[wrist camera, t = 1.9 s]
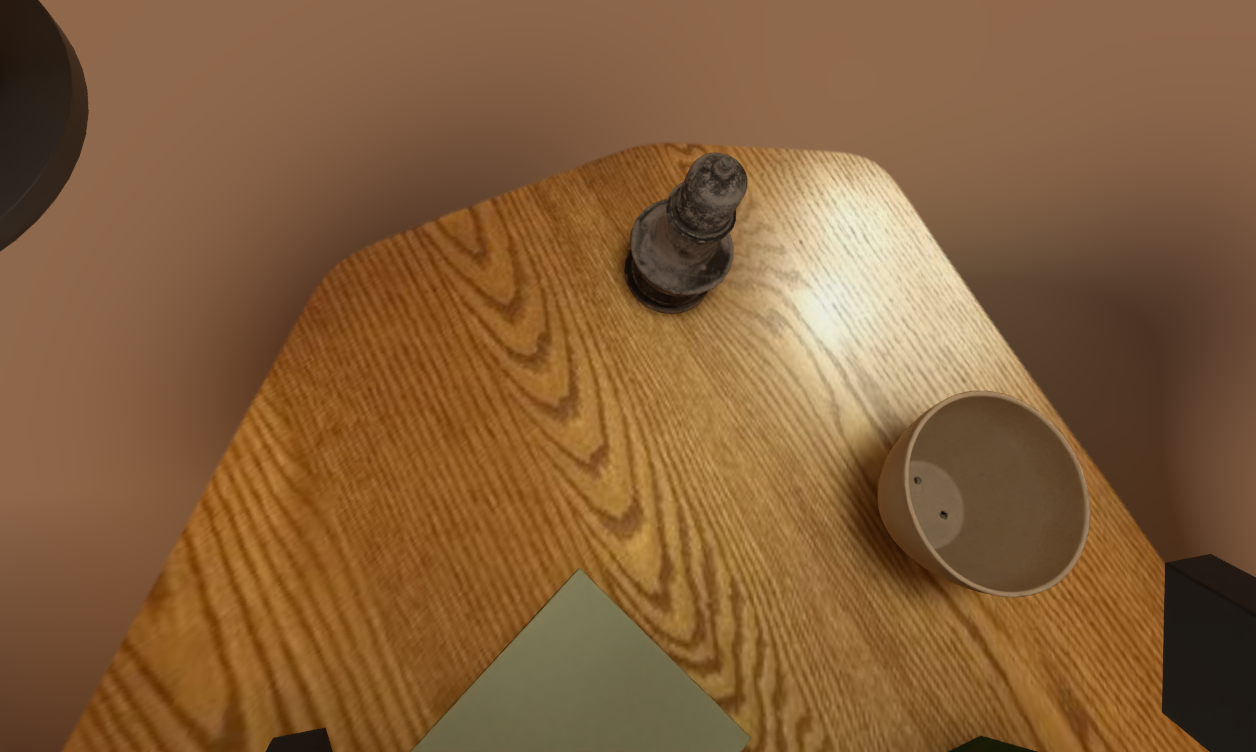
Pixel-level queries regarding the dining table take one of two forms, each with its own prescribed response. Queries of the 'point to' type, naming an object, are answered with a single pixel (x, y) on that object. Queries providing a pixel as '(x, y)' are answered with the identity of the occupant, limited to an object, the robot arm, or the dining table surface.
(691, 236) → the grey chess piece
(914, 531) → the flower pot
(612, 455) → the dining table surface
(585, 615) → the mat
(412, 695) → the dining table surface
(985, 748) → the container
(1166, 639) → the robot arm
